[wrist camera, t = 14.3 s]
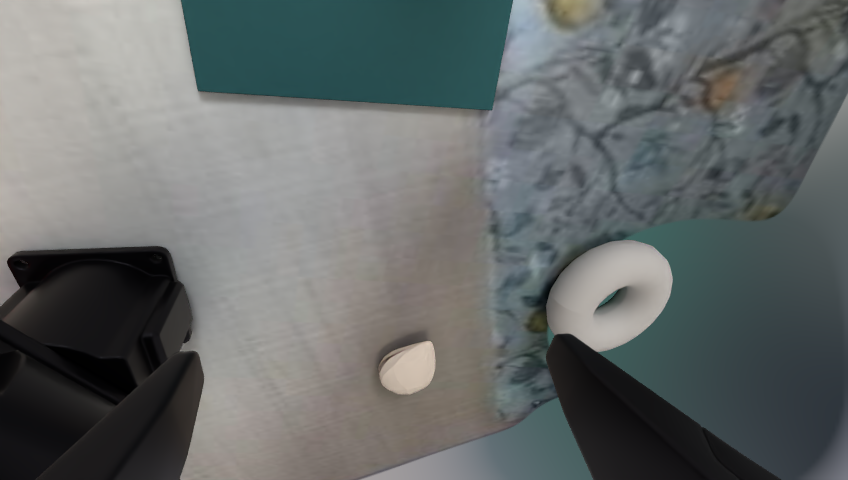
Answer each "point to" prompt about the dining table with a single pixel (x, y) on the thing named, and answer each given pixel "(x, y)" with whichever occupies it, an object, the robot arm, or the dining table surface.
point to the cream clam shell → (408, 368)
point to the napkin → (351, 49)
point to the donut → (599, 277)
